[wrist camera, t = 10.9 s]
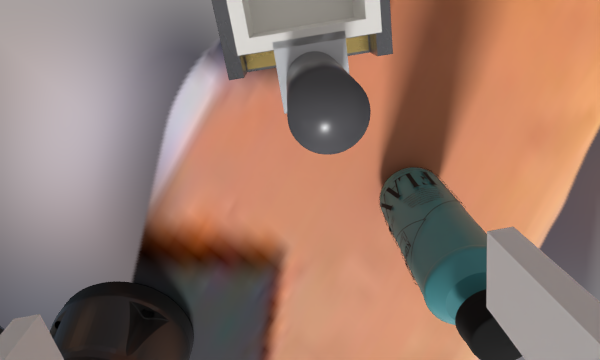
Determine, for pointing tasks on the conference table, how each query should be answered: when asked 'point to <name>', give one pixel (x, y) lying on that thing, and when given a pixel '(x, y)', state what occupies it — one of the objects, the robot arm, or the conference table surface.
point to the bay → (266, 59)
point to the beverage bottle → (445, 257)
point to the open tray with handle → (311, 63)
